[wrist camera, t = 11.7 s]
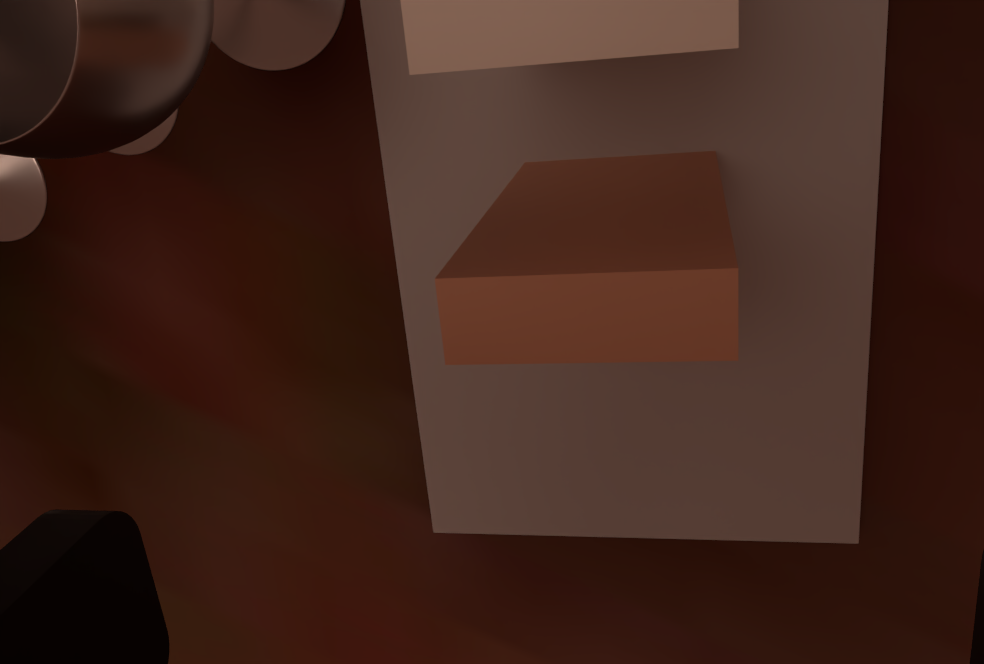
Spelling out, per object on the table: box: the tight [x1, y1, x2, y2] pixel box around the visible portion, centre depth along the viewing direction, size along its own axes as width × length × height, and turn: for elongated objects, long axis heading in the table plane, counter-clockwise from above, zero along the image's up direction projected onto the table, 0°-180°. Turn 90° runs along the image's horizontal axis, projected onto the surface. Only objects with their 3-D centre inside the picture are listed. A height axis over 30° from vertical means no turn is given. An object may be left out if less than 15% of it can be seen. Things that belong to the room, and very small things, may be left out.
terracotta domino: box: [435, 151, 738, 365], centre depth 20 cm, size 5×2×10 cm, turn 96°
